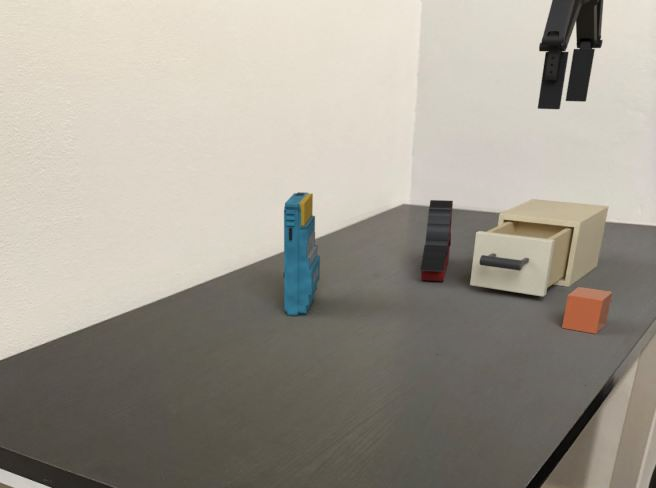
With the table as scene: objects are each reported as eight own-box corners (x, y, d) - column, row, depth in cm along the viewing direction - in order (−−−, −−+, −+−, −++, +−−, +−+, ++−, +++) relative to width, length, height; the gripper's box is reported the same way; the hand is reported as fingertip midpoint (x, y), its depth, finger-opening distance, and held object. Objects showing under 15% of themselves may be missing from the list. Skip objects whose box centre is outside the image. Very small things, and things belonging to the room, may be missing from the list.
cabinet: (568, 287, 122) (580, 222, 117) (491, 275, 129) (499, 213, 124) (596, 266, 132) (608, 206, 127) (523, 256, 139) (532, 198, 134)
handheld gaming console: (293, 296, 120) (292, 191, 112) (319, 297, 120) (321, 192, 112) (281, 316, 112) (280, 204, 104) (310, 317, 111) (311, 205, 104)
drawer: (533, 304, 112) (542, 247, 108) (458, 291, 118) (464, 237, 114) (572, 275, 124) (582, 224, 120) (503, 266, 130) (509, 216, 126)
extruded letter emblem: (429, 258, 139) (435, 190, 133) (449, 259, 138) (455, 191, 132) (419, 286, 124) (425, 211, 118) (441, 287, 123) (448, 212, 117)
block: (605, 324, 107) (612, 291, 104) (595, 334, 103) (602, 300, 101) (572, 319, 109) (578, 286, 106) (561, 328, 106) (567, 294, 103)
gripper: (587, -77, 109) (560, 97, 120) (532, -95, 91) (506, 111, 102) (645, -81, 105) (611, 99, 116) (600, -101, 87) (565, 113, 98)
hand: (562, 105), depth 109 cm, fingers open, 13 cm apart
